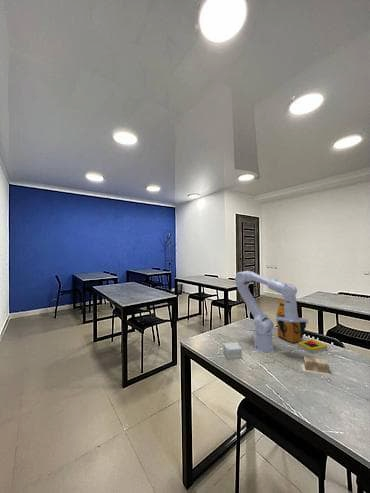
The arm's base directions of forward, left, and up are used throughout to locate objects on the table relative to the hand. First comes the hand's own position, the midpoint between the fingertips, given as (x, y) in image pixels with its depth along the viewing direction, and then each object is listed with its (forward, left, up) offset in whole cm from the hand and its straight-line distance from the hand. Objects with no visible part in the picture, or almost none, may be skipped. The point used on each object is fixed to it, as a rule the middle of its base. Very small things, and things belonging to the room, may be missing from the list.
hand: (292, 337), depth 106 cm
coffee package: (0, +23, -11) cm, 26 cm away
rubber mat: (+4, -9, -10) cm, 14 cm away
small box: (-29, -6, -11) cm, 32 cm away
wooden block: (+4, -9, -8) cm, 12 cm away
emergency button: (+10, +13, -11) cm, 20 cm away
